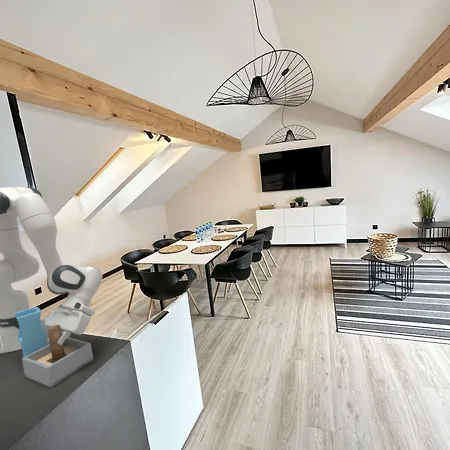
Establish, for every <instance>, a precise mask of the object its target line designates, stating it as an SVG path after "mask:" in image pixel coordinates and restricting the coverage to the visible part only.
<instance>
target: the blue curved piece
mask: <svg viewBox="0 0 450 450" xmlns="http://www.w3.org/2000/svg"><path fill="white" fill-rule="evenodd" d="M29 308H30V307H29ZM41 312H42V311H41V309H40V308H39V307H38V306H34V307H31V308H30V309H26V310H23V311H19V312H16V313H14V314H15V316H16V318H17V320H18V323H19V336H18V339H19V342H20V344H21V347H22V349H21V351H22V358H24V357H26V356H28V355H30V354H32V353H34V352H36V351H38V350H39V349H41V348H43V347H45V346H46V335H45V333H44V331H43V329H42V326H41V321H40V320H41V315H42V313H41Z"/></svg>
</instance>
